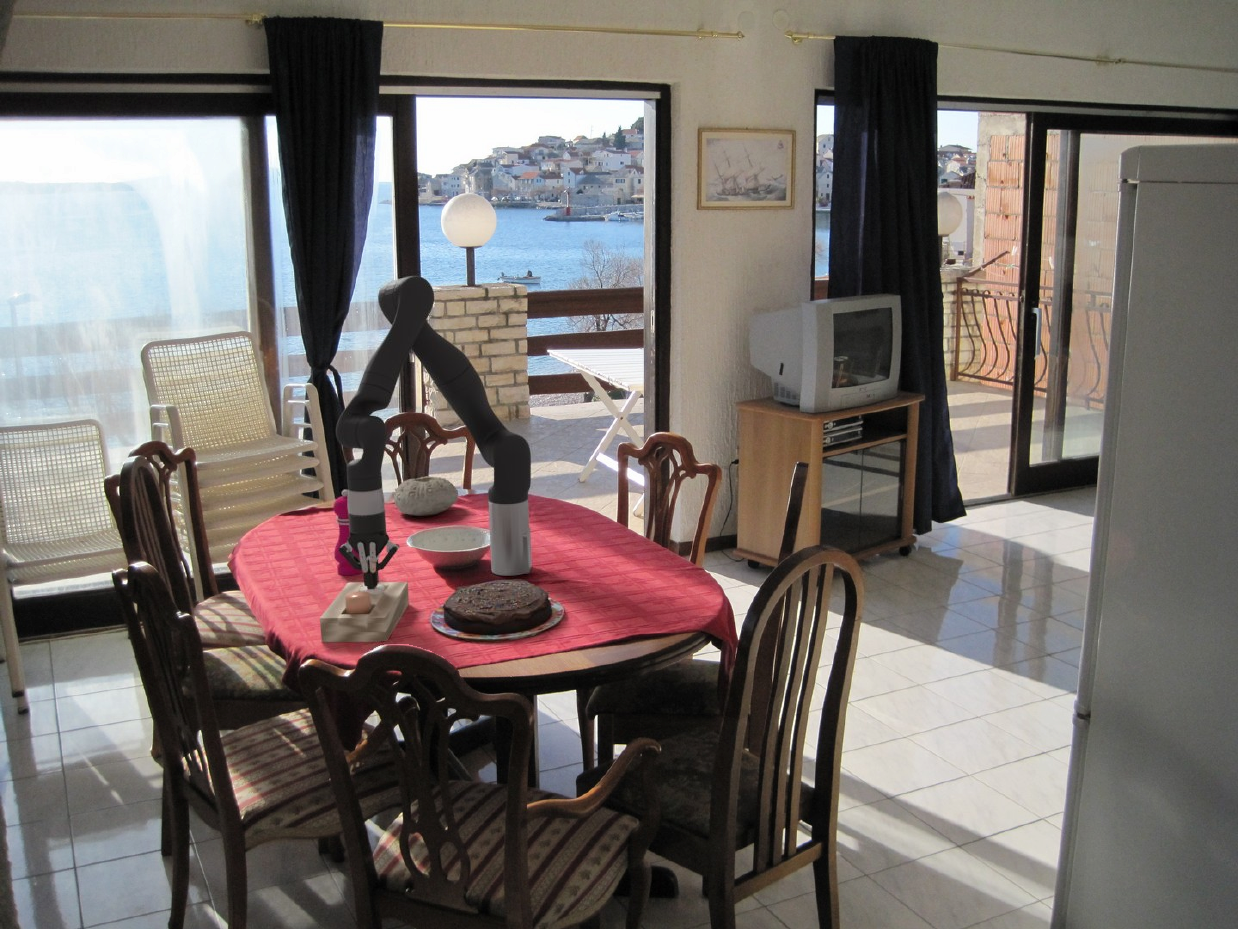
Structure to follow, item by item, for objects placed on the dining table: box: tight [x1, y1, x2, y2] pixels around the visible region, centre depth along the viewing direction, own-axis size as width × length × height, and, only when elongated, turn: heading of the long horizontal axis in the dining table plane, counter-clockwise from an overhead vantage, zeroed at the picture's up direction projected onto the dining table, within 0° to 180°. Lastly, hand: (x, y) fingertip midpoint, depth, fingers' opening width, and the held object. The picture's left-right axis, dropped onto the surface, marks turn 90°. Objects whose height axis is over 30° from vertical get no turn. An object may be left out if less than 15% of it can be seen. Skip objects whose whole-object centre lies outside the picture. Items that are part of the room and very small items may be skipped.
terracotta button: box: [345, 591, 371, 614], centre depth 236 cm, size 5×5×3 cm
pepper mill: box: [333, 489, 363, 577], centre depth 275 cm, size 7×7×20 cm
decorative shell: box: [393, 475, 459, 517], centre depth 327 cm, size 18×18×10 cm
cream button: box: [360, 584, 385, 594], centre depth 248 cm, size 5×5×3 cm
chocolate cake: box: [429, 578, 565, 644], centre depth 244 cm, size 28×28×7 cm
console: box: [319, 581, 410, 643], centre depth 243 cm, size 13×22×5 cm, turn 178°
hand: (371, 587), depth 248 cm, fingers closed
